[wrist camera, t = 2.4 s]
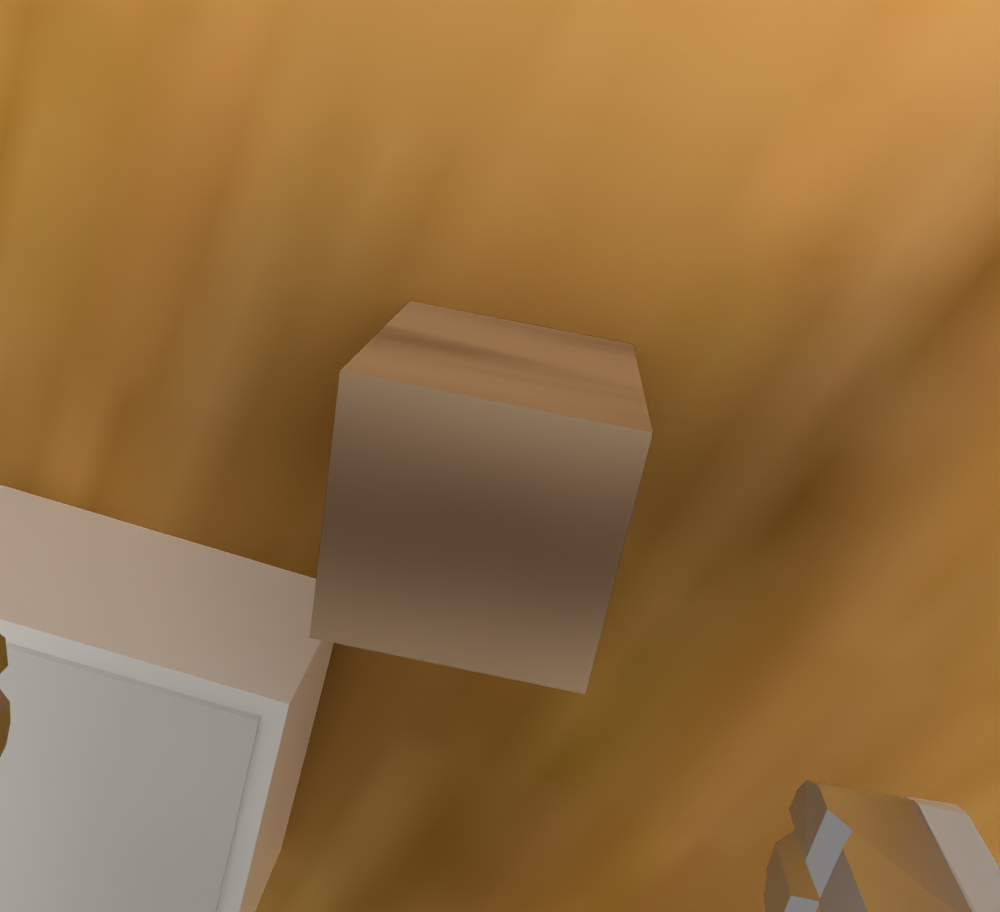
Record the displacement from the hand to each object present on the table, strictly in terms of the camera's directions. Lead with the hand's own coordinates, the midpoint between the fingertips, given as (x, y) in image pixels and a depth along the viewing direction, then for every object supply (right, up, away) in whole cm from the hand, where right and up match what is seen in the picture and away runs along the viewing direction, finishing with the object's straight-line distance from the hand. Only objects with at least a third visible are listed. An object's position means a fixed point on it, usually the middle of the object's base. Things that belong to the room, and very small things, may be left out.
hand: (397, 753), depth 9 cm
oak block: (+1, +4, +11) cm, 12 cm away
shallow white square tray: (-8, -3, +15) cm, 17 cm away
